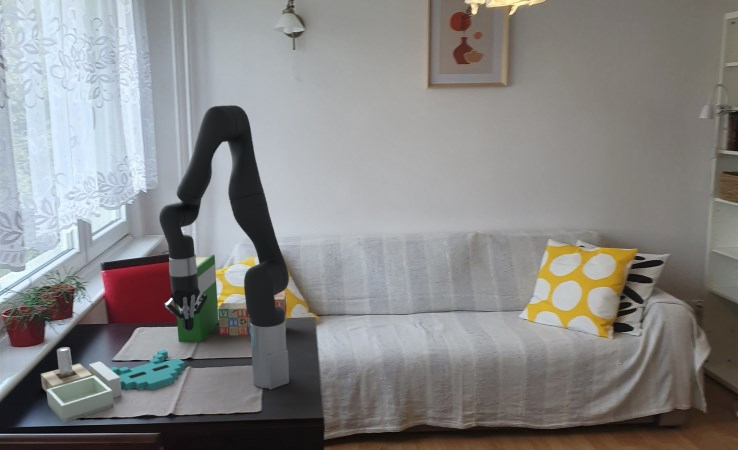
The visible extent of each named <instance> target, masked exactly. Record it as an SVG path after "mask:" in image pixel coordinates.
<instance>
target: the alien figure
mask: <svg viewBox="0 0 738 450" xmlns="http://www.w3.org/2000/svg"><path fill="white" fill-rule="evenodd" d="M156 352H157V354H154V355H153V356H152V358H151V359H148V360H149V363H145V364H142V365H139V366H135V367H131V368H130V367H127V366H124V367H123V366H122V367H120V368H118V367H117V366H112V367H108V368H109V369H110V370H112V371H113V372H114V373H115V374H117V375H118V376H119V377H120V382H121V389H123V388H124V389H125V390H127V391H128V390H131V389H136V390H138V391H140V390H143V389H148V390H149V391H152V390H154V389H155V390H156V389H159V388H162V387H165V386H167V385H171V384H173V383H175V381H174V380H175V379H177V378H178V375H179V374H182V370H184V369H185V368H186V364H185V363H186V362H185V361H183V360H181V359H180V358H178V357H176V358H173V359H170V360H169V359H168V360H167V361H165V358H168V357H169V355H168V352H169V351H167V350H166V349H161V350H158V351H156Z"/></svg>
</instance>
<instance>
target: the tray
mask: <svg viewBox="0 0 738 450" xmlns="http://www.w3.org/2000/svg"><path fill="white" fill-rule="evenodd" d="M46 396H47V405H48V407H49V408H50V409H51V410H52V412H54V414H55V416H57V417H58V418H59V419H60V421H61V422H62V423H64V424H65V423H68V422H71V421H73V420H74V421H75V420H76V419H77V420H78V419H80V418H83V417H85V416H89V415H93V414H95V413H98V412H102V411H104V410H107V409H111V408H113V407H114V398H113V394H112V390H111V389H110V388H109V387H108V386H106V385H105V384H104V383H103V382H102V381H101V380H99V379H98V378H97V377H96V376H91V377H88V378H85V379H81V380H78V381H74V382H71V383H67V384H64V385H60V386H57V387H53V388H50V389H47V392H46Z"/></svg>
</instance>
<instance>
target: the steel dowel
mask: <svg viewBox="0 0 738 450" xmlns="http://www.w3.org/2000/svg"><path fill="white" fill-rule="evenodd" d="M56 355H57V364H58V369H59V373H60V379H63V378H67V377H70V376H73V370H72V365H73V362H72V354H71V348H70V347H67V346H65V347H60V348H58V349H56Z"/></svg>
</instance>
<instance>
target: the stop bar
mask: <svg viewBox="0 0 738 450" xmlns="http://www.w3.org/2000/svg"><path fill="white" fill-rule="evenodd" d="M88 367H89V372H90V373H91V374H92V376H96V377H97V378H98V379H99V380H101V381H102V382H103V383H104V384H105V385H106V386H108V387H109V388H110V389H111V390H112V394H113V399H114V398H117V397H120V396H122V394H123V393H122V388H121V382H120V377H119V375H117V374H115V373H114V372H113V371H112V370H110V369H109V368H110V367H108V366H107V365H105V364H104V363H103V362H101V361H95V362H93V363H89V365H88Z"/></svg>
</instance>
